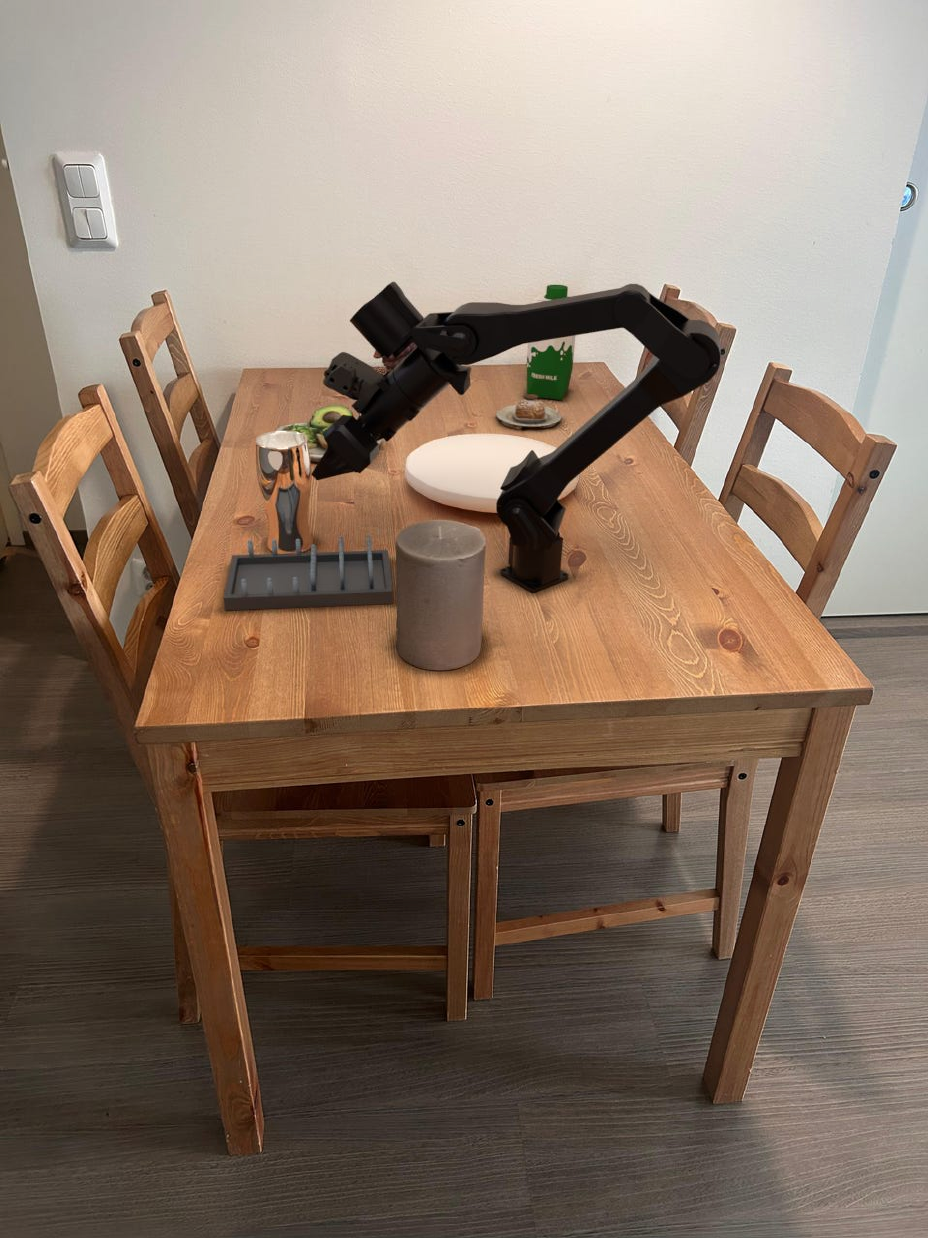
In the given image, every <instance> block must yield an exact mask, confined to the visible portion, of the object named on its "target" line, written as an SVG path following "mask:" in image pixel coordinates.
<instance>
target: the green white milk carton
mask: <svg viewBox="0 0 928 1238" xmlns="http://www.w3.org/2000/svg"><path fill="white" fill-rule="evenodd" d="M568 290H569V287H568V286H567V285H564V284H563V285H562V284H548V285H547V286H546V293H545V294H539V295H537V297H535V298H533V300H532V301H531V302H530V304H532V303H537V302H543V301H549V300H555V299H560V298H566V297H568V292H569V291H568ZM575 344H576V335H575V336H568V337H562V338H556V339H550V340H544V341H538V342H531V343H527V353H526V395H529V394H533V395H537V396H538V398H541V399H550V400H556V401H557V400H558V401H562V400H563V398H564V397H565V395H566V394H567V392H568V391H569V388H570V384H571V378H572V374H573V369H574V360H575V359H574V358H575V357H574V356H575V346H576V345H575Z"/></svg>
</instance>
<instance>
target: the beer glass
mask: <svg viewBox="0 0 928 1238" xmlns="http://www.w3.org/2000/svg"><path fill="white" fill-rule="evenodd" d="M255 463H256V465H255V466H256V476H257V481H258V487H259V492H260V495H261V499H262V501H263V505H264V508H265V509H264V510H265V512H266V517H267V523H268V531H267V542H266V543H267V544H266V545H267V548H268V550H270V551H271V552H272V553H273V550H272V540H274V539H275V540H276V542H277V553H278V554H287V553H296V539H300V544H301V553H306V552H307V551H308V550H311V545H313V544H314V540H313V536H312V533H311V529H310V523H309V510H310V501H311V494H312V493H311V492H312V479H313V478H312V477H313V476H312V462H311V460H310V453H309V447H308V438H307V436H306V435H304V434H302V433H300V432H295V431H276V430H274V431H273V430H272V431H268V432H265V433H262V434H260V435H258V436H257V437H256V438H255Z"/></svg>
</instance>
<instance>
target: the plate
mask: <svg viewBox="0 0 928 1238" xmlns="http://www.w3.org/2000/svg"><path fill="white" fill-rule="evenodd" d="M557 448H558V447H556V446H553V445H552V444H551V445H550V444H548V443H545V442H543V441H541V440H536V439H532V438H528V437H524V436H518V435H512V434H501V433H468V434H458V435H450V436H445V437H441V438H436V439H434V440H433V439H432V440H431V441H428V442H426V443H423V444H422V445H420V446H418V447H417V448H416V449H414V450H412V451H411V452H410V453H409V455H407V458H406V461H405V467H404V476H405V479H406V481H407V484H408V485H409V486H410V487H411V488H412V489H414V491H415V492H417V493H419V494H421V495H422V496H424V497H425V498H427V499H429V500H431V501H434V502H437V503H440V504H442V505H446V506H450V507H453V508H459V509H462V510H466V511H467V510H468V511H475V512H482V513H491V514H492V513H493V514H495V513H496V514H497V511H496V503H497V500H498V498H499V496H500V494H501V492H502V490H501V489H500V488H501V486H502V484H503V482H504V480H505V478H506V476H507V474H508V472H509V470H510V468H511V467H514V466H517V465H518V464H520V463H521V462H522V461H523V460H524V459H525V458H526V456H527V455H528V454H529V452H530V451H531V450H533V451H534V452H535V454H536V455H537V457H538V458H540V457H543V456H545V455H548V454H550V453H552V452H553V451H554V450H556V449H557ZM579 481H580V474H579V475H578V476H577V477H575V478H574V479H573V480H572V481H571V482H570V483H569V484H568V485H567V486H566V488H565V489H564V490H563V492H562V493H561V495H560V496H559V497H558V500H559V501H561V500H562V499H563V498H565V497H567V496H568V495H569V494H570V493H571V492H573V491H574V490H575V489H576V488H577V485H578V483H579Z"/></svg>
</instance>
